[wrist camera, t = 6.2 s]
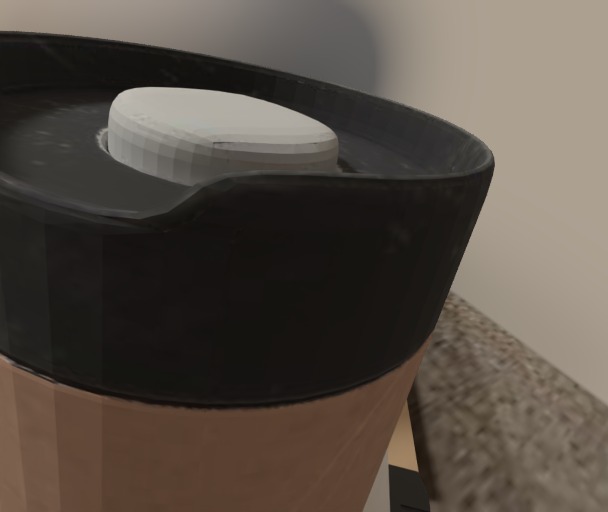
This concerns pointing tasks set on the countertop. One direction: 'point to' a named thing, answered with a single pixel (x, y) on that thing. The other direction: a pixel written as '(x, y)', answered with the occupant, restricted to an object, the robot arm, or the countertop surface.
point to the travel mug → (212, 277)
